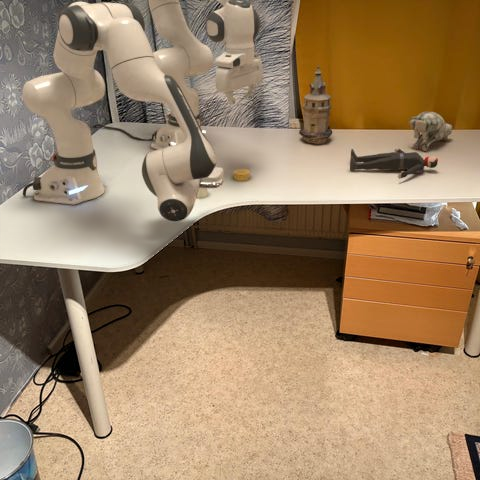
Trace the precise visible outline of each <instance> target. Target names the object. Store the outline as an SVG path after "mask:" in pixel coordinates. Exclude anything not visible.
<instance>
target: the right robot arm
mask: <svg viewBox="0 0 480 480" xmlns="http://www.w3.org/2000/svg"><path fill="white" fill-rule="evenodd" d="M215 1H217V2H218V3H220V4H221V6H222V7H221V8H219V9H216V10H214V11H211V12H209V14H208V16H207V17H206V20H205V32H206V35H207V37H208V38H209V39H210V40H211V41H212V42H213V43H219V44H220V43H221V44H223V43H225V51H224V52H223V53H221V54H220V55H219V56H218V57H216V58H215V60H214V54H213V51H212V50H211V48H210V47H209V46H208V45H207V44H204V43H202V42H201V41H200V40H199V39H198V38H197V37H196V36H195V35H194V34H193V32H192V31H191V30H190V28H189V26H188V24H187V21H186V18H185V15H184V12H183V9H182V6H181V3H180V0H147V2H148V6H149V10H150V14H151V17H152V20H153V24H154V27H155V30H156V33H157V35H158V36H159V37H160V38H161V39H163V40H166V41H167V42H169V43H170V44H171V45H172V47H165V48H161V49H158V50H156V51H154V52H153V54H154V57H155V60H156V63H157V65H158V67H159V68H160V70H161V71H162V72H163V73H164V74H165V75H168V76H171V77H173V78H174V80H175V81H176V82H177V84H178V85H179V87H180V88H181V90H182V92H183V94H184V96H185V98H186V100H187V102H188V104H189V106H190V108H191V110H192V112H193V114H194V116H195V118H196V120H197V122H198V124H199V126H200V128H201V129H202V127H201V126H202V115H201V112H200V100H199V99H200V98H199V97H200V95H199V93H198V92H197V90H196V89H195V88H193V87H191V86H189V85H187V82H186V78H189V77H195V76H200V75H202V74H205V73H207V72H209V71H211V70H212V68H213V65H215V67H216V70H215V89H216V91H217V92H218V93H223V94H225V97H226V99H227V104H228V105H229V106H233V105H235V104H236V98H234V96H233V95H234V91H236V90H241V89H243V88H247V87H248V89H247V92H246V93H245V95H246V99H253V98H254V92H255V89H256V87H257V86H256V85H257V84H259V83H261V82H263V80H264V66H263V62H262V56H261V55H260V54H259V53H258V52H255V43H254V40H255V38H256V37H257V36H258V34H259V32H260V30H261V25H262V22H261V18H260V14H259V13H258V12H257V10H256V9H255V8H254V7H253V5H252V3H251V2H250V1H248V0H215ZM169 110H170V113H168V114H167V115H165V119H166V120H167V123H166V124H164V125H163V126H162V127H161V128H160V129H158V130H156V131H154V132H153V134H152V135H151V138H149V139H147V138H146V139H144V138H141V137H137V136H133V135H132V134H131V133H129V132H127V131H126V130H125V129H122V128H119V127H113V126H107V125H104V124H100V123H98V124H97V123H96V124H95V125H93V128H97V127H101V128H103V129H109V130H115V131H121V132H122V133H124V134H126V135H128V136H129V137H130V138H132V139H135V140H139V141H145V142H151V144H150V148H152V149H154V150H158V149H161V148H164V147H168V146H172V145H175V144H178V143H181V142H183V141H185V136H184V134H183V132H182V130H181V128H180V126H179V124H178V122H177V120H176V118H175V116H174V114H173V112H172V110H171V109H170V108H169ZM202 132H203V134H206V130H202ZM153 140H155V141H153ZM152 141H153V142H152Z"/></svg>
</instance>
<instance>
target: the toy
mask: <svg viewBox="0 0 480 480" xmlns="http://www.w3.org/2000/svg"><path fill="white" fill-rule="evenodd" d="M438 161H439V159H438V157H436V156H432V155H431V156H426V157H425V158H423V157H422V156H421V155H420V153H418V152H416V151H413V152H405V151H403V150H402V149H401V148H394V150H393V151H391V152H384V153H377V154H368V155H362V156H361V155H360V156H358V155H357V154H356V152H355V150H354V148H351V150H350V160H349V170H350V172H354V171H356V170H357V171H358V170H366V171H368V170H369V171H370V170H379V171H381V170H382V171H384V170H385V171H388V170H389V171H397V170H400V169H406V171H405V170H402V171H401V172H400V173H398V174H397V178H398V179H399V180H400V179H404V178H406V177H408V175H411V174H414V173H415V174H416V173H422V172H423V171H424V168H425V167H427V168H429V169H434V168H436V167H437V166H438V164H439V163H438Z"/></svg>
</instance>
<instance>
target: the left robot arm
mask: <svg viewBox="0 0 480 480" xmlns="http://www.w3.org/2000/svg"><path fill="white" fill-rule="evenodd" d="M145 23H146V22H145V19H144V16H143V13H142V12H141V10H140V9H139V8H138V7H137V6H136V5H134V4H131V3H127V2H119V3H118V2H96V3H88V2H87V1H75V2H72V3H71V4H70V5H68V6H67V7H64V8H63V9H62V10H61V12H60V14H59V17H58V30H57V35H56V39H55V43H54V48H53V53H52V57H53V61H54V63H55V65H56V67H57V68H58V69H59V70H60V71H59V72H56V73H55V72H54V73H49V74H45V75H40V76H37V77H35V78H32V79H30V80H29V81H26V82H25V83H24V85H23V87H22V92H21V93H22V101H23V103H24V105H25V106H26V108H27V109H28V110H29V111H30V112H31V113H32V114H33V115H36V116H38V117H40V118H42V120H43V121H45V123H47V125H48V126H49V128H50V130H51V131H52V135H53V138H54V142H55V145H56V146H55V147H56V151H55V153H54V154H52V157H51V158H50V159H51V163H53V164H52V166H50V167H49V168H48V169H47V170H46V171H44V173H43V174H42V175H41V176H36V177H34V178H33V181H32V182H30V183H28V184H27V185H25V186H24V187H23V189H22V196H23V197H26V196H27V190H28V189H29V188H31V187H32V190H33V191H35V192H34V194H33V199H34V201H38V202H45V203H46V202H47V203H55V204H65V205H71V206H72V205H78V204H80V203H82V202H86V201H90V200H93V199H96V198H98V197H100V196H102V195H103V194H104V193H105V191H106V188H105V187H104V186H105V185H104V184H103V182H102V180H101V177H100V173H99V170H98V158H97V154H96V150H95V148H94V144H93V138H92V130H91V128H90V126H89V125H88V124H87V123H86V122H84V121H83V120H80V119H77V118H74V116H73V114H72V110H74V109H75V110H76V109H78V108H83V107H87V106H90V105H92V104H94V103H95V104H96V102H99V101H100V100H102V99H103V98H104V96H105V93H106V83H105V80H104V78H103V76H102V75H101V73H100V72H99V71H98V70H96V69H95V68H94V67H95V62H96V58H97V53H98V51H104V52H105V54H106V57H107V60H108V64H109V67H110V71H111V74H112V77H113V80H114V83H115V85H116V88H117V89H118V91H119V92H120V93H121V94H122V95H123V96H125V97H126V98H128V99H130V100H134V101H137V102H147V103H158V104H163V105H165V106H166V107H168V108H169V110H170V109H171V110H172V112H173V114H174V116H175V118H176V120H177V122H178V124H179V126H180V128H181V130H182V132H183V134H184V136H185V141H183V142H181V143H178V144H175V145H172V146H168V147H164V148H161V149H158V150H157V149H154V150H152V151H149V152H147V153H146V154H145V156H144V158H143V160H142V164H141V176H142V179H143V181H144V184H145V185H146V188H147V189H148V190H149V192H150V193H151V194H153V195H154V196H155V197H156V199H157V209H158V212H159V215H160V217H162V218H163V219H165V220H167V221H168V222H180V221H183V220H185V219H187V218H188V217H189V216H190V214H191V213H192V211H193V209H194V207H195V205H196V200H197V195H198V192H199V189H200V188H207V189H217V188H219V187H220V186H222V185H223V183H224V175H225V173H224V169H223V168H222V167H219V166H217V157H216V154H215V151H214V149H213V147H212V145H211V144H210V142H209V141H208V139H207V137H206V135H205V133H203V132H202V131H203V129H202V127H201V128H200V126H199V124H198V122H197V120H196V118H195V116H194V114H193V112H192V110H191V108H190V106H189V104H188V102H187V100H186V98H185V96H184V94H183V92H182V90H181V88H180V87H179V85H178V84H177V82H176V81H175V80H174V78H173V77H171V76H168V75H165V74H164V73H163V72H162V71H161V70H160V68H159V67H158V65H157V63H156V60H155V57H154V54H153V53H154V52H153V48H152V45H151V44H150V40H149V39H148V36H147V34H146V33H145V31H146V24H145ZM171 110H170V111H171Z"/></svg>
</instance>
